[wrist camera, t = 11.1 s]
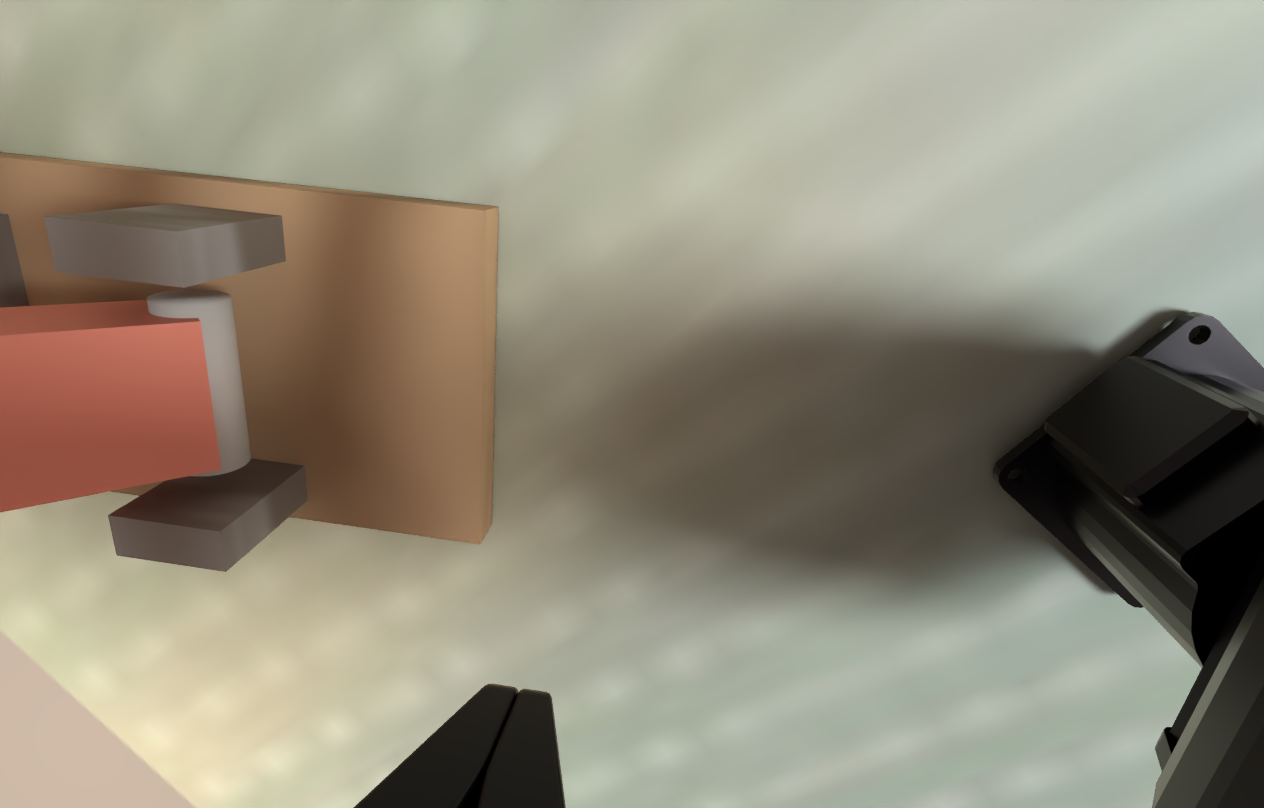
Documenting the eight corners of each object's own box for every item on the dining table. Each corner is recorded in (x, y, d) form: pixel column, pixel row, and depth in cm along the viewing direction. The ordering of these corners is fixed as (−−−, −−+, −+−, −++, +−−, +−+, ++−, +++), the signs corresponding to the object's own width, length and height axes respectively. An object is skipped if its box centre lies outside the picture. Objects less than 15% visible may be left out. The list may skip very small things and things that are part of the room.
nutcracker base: (498, 206, 18) (427, 225, 14) (491, 524, 22) (433, 624, 17) (-172, 133, 20) (-447, 128, 15) (-75, 444, 23) (-271, 518, 19)
